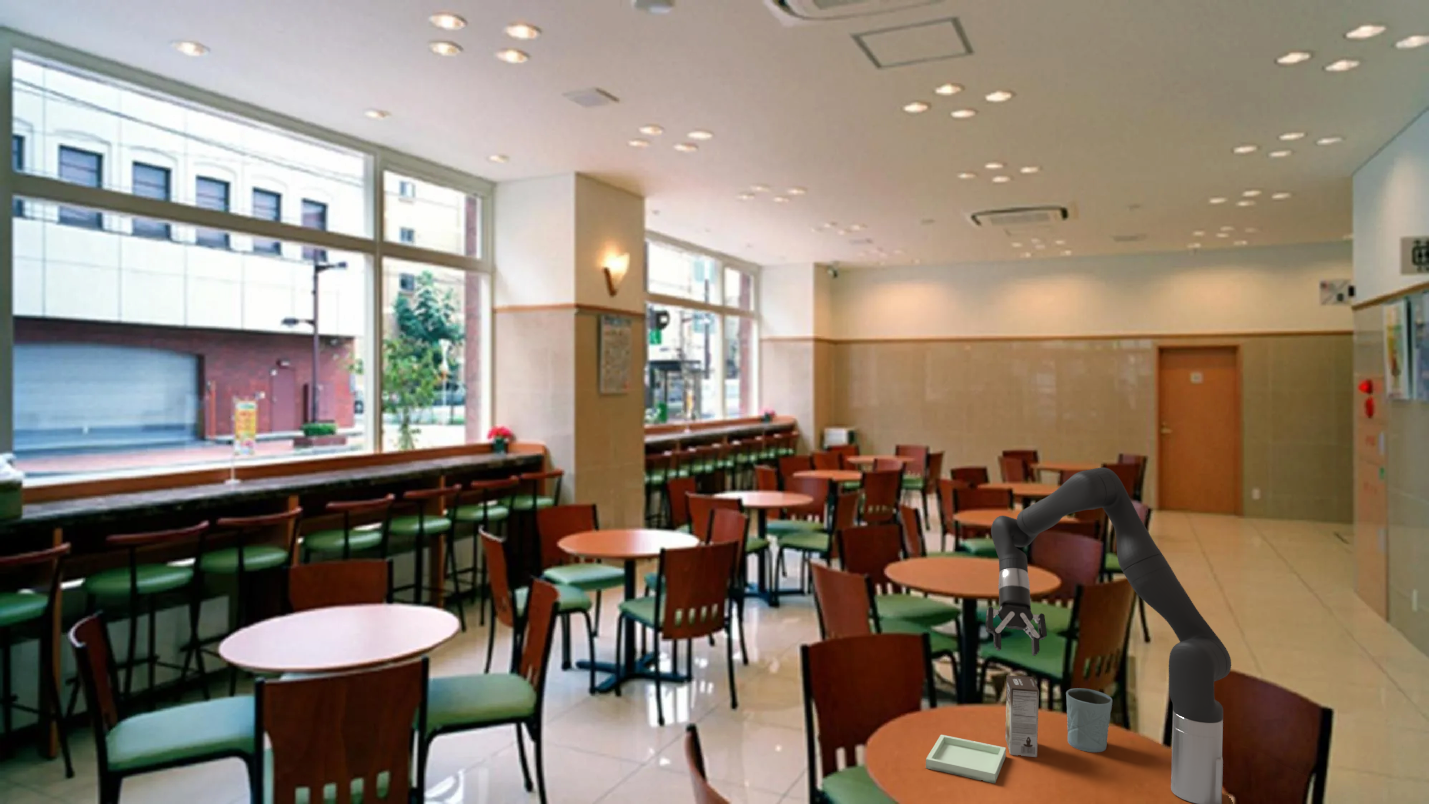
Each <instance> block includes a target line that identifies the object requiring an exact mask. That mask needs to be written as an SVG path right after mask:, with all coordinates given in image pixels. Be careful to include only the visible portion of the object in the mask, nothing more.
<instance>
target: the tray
mask: <svg viewBox="0 0 1429 804" xmlns="http://www.w3.org/2000/svg"><path fill="white" fill-rule="evenodd" d="M1006 754H1007V748H1006V746H1005V747H1004V746H999V745H995V744H989V743H985V742H980V741H974V740H970V739H965V738H960V737H956V736H950V735H946V734H940V735H939V737H938V739H937V740H936V742H935V744H934V745H933V747H932V749H931V750H930V752H929V753H928V754H927V756H926V759H925V769H929V770H932V771H937V772H941V773H947V774H951V775H956V776H960V777H965V778H968V779H972V780H977V781H981V780H983V781H982V782H987V783H991V784H996V782H997V779H998V777H999V774H1000V772H1001V769H1002V767H1003V764H1004V762H1005V760H1006V757H1007V755H1006Z"/></svg>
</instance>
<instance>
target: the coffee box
mask: <svg viewBox="0 0 1429 804" xmlns="http://www.w3.org/2000/svg"><path fill="white" fill-rule="evenodd" d="M1005 686H1006V691H1005V741H1006V745H1007V748H1008V749H1007V750H1008V751H1009V754H1010V756H1018V755H1021V756H1020V757H1029V758H1030V757H1031V758H1038V736H1039V734H1038V728H1039V699H1040V698H1039V696H1040V690H1039V687H1038V685H1037V683H1036V681H1035V678H1034V676H1023V675H1011V674H1010V675H1006V685H1005Z"/></svg>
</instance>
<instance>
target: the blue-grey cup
mask: <svg viewBox="0 0 1429 804" xmlns="http://www.w3.org/2000/svg"><path fill="white" fill-rule="evenodd" d="M1065 695H1066V718H1067V721H1066V722H1067V723H1066V725H1067V727H1066V728H1067V743H1068V745H1070V746H1071V747H1072V748H1074V749H1076V750H1080V751H1083V752H1088V753H1102V752H1104V751H1106V749H1107V744H1108V737H1109V736H1108V735H1109V734H1108V733H1109V727H1110V726H1109V725H1110V721H1111V712H1112V708H1113V706H1112V705H1113V698H1112V697H1111V696H1110V695H1109V694H1106V693H1104V692H1101V691H1098V690H1094V689H1090V688H1080V687H1079V688H1078V687H1077V688H1070V689H1068V690H1066V692H1065Z"/></svg>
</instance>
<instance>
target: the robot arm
mask: <svg viewBox="0 0 1429 804" xmlns="http://www.w3.org/2000/svg"><path fill="white" fill-rule="evenodd" d="M1101 508H1102V509H1103V511H1104V512H1105V514H1106V515H1107V517H1108V518H1109V521H1110V522H1111V524H1112V526H1113V529H1114V532H1115V538H1116V556H1117V563H1118V565H1119V567H1120V569H1121V571H1122V573H1123V574H1124V576H1125V578H1126V579H1127V581H1128V583H1129V585H1130V586H1131V588H1132V589H1133V590H1134V592H1135V593H1136V594H1137V596H1138V597H1140V599H1142V601H1144V603H1146V604H1147V605H1148V606H1150V607H1151V609H1153V610H1154V611H1155V612H1156V613H1158V614H1159V615H1160V616H1161V617H1162V618H1163V619H1164V620H1165V621H1166V622H1167V624H1168V625H1169V626H1170V629H1172V631H1173V632H1174V634H1175V636H1176V637H1177V639H1178V641H1179V642H1177V643H1176V644H1175V645H1173V647H1172V648H1171V649H1170V653H1169V657H1168V690H1169V691H1168V692H1169V697H1170V700H1171V702H1172V733H1171V737H1172V738H1171V747H1172V748H1171V773H1170V774H1171V775H1170V777H1171V778H1170V790H1171V792H1172V793H1173V794H1174V795H1175V796H1177V798H1180V799H1182V800H1184V801H1187V802H1189V803H1192V804H1223V777H1224V775H1223V771H1224V770H1223V769H1224V768H1223V767H1224V765H1223V764H1224V760H1223V736H1224V735H1223V731H1224V729H1223V727H1224V723H1223V722H1224V708H1223V705H1222V704H1221V703H1220V702H1219V701H1218V700H1216V699H1215V682H1217V681H1219V680H1222V679H1224V678H1226V677H1227V676H1228V675H1229V674H1230V672H1231V670H1232V659H1231V656H1230V653H1229V651H1228V649H1227V648H1226V646H1225V644H1224V643H1223V642H1222V641H1221V638H1220V637H1219V636H1218V635H1217V634H1216V632H1215V631H1214V630H1213V629H1212V628H1211V626H1210V625H1209V623H1208V622H1207V621H1206V620H1205V618H1204V617H1203V616H1202V614H1201V613H1200V612H1199V611H1198V609H1197V607H1196V606H1195V604H1194V602H1193V601H1192V599H1191V598H1190V596H1189V594H1188V593H1187V592H1186V590H1185V588H1184V586H1183V585H1182V584H1181V582H1180V580H1179V579H1178V577H1177V576H1176V574H1175V572H1174V571H1173V568H1172V567H1171V565H1170V564H1169V562H1168V561H1167V559H1166V558H1165V556H1164V554H1163V553H1162V551H1161V550H1160V548H1159V547H1158V545H1157V544H1156V542H1155V541H1154V539H1153V538H1152V536H1151V535H1150V532H1149V531H1148V529H1147V528H1146V526H1145V524H1144V522H1143V520H1142V519H1141V516H1139V514H1138V512H1137V509H1136V508H1135V505H1134V504H1133V502H1132V500H1131V498H1130V496H1129V493H1128V492H1127V490H1126V488H1125V486H1124V484H1123V482H1122V480H1121V479H1120V478H1119V476H1118V475H1117V474H1116V473H1115V472H1114V471H1113V470H1112V469H1110V468H1107V467H1095V468H1092V469H1091V468H1090V469H1086V470H1082V471H1078V472H1076V473H1074V474H1072V476H1070V478H1068V479H1067V480H1066V481H1065V482H1064V483H1062V484H1061V485H1060V486H1059V487H1058V488H1057V489H1055V490H1054V491H1053V492H1052V493H1050V494H1049V495H1047V496H1046V497H1044V498H1043V499H1040V500H1038V501H1037V502H1035V503H1033V504H1032V505H1029V506H1027V507H1026V508H1024V509H1023V510H1021V511H1020V512H1019V513H1018V514H1017V517H1016V518H1013V517H1010V516H1007V515H999V516H996V518H994V520H993V521H992V523H991V528H990V533H991V538H992V542H993V545H994V549H995V551H996V552H995V553H996V554H997V557H998V567H999V568H998V569H999V571H998V572H999V576H998V588H997V589H998V600H999V601H998V606H999V608H998V609H995V608H994V607H992V606H989V607H988V609H987V610H986V611H985V612H986V614H985V632H986V633H990V634H992V635H993V646H994V649H996V651H997V652H1000V651H1001V650H1002V634H1001V633H1002V631H1003V630H1004V629H1005V627H1006V628H1008V630H1017V631H1022V630H1023V631H1024V633H1026V634H1027V635H1028V636H1029V638H1030V639H1031V641H1030V643H1031V656H1034V657H1036V656H1037V655H1038V654H1039V652H1040V649H1041V648H1040V641H1043V640H1045V639H1046V637H1047V636H1048V633H1047V632H1048V631H1047V625H1046V624H1047V623H1046V617H1045V614H1044V613H1040V614H1035V613H1033V612H1032V609H1031V608H1032V607H1031V604H1032V603H1031V590H1030V588H1031V586H1030V578H1029V568H1028V566H1029V565H1028V558H1027V555H1026V553H1025V552H1024V551H1022V550H1021V549H1019V548H1024V547H1027V546H1029V545H1030V544H1031V543H1032V542H1033V541H1034V540H1035V539H1036V538H1037V537H1038V535H1039V534H1040V533H1041V534H1042V532H1044V531H1045V532H1046V531H1047V530H1048V529H1050V528H1053V527H1054V526H1055V525H1057V524H1058V523H1059V522H1060V521H1061V520H1062V519H1063V518H1064V517H1065V516H1068V515H1070V514H1074V513H1076V512H1082V511H1088V510H1090V511H1091V510H1097V509H1101ZM996 616H998V618H999V619H1000V620H1001V622H1000V623H999V625H997V627H994V618H995V617H996ZM1032 620H1034V622H1035V624H1037V629H1038V632H1037V630H1036V629H1035V627H1034V625H1033V624H1032V623H1031V621H1032Z"/></svg>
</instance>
